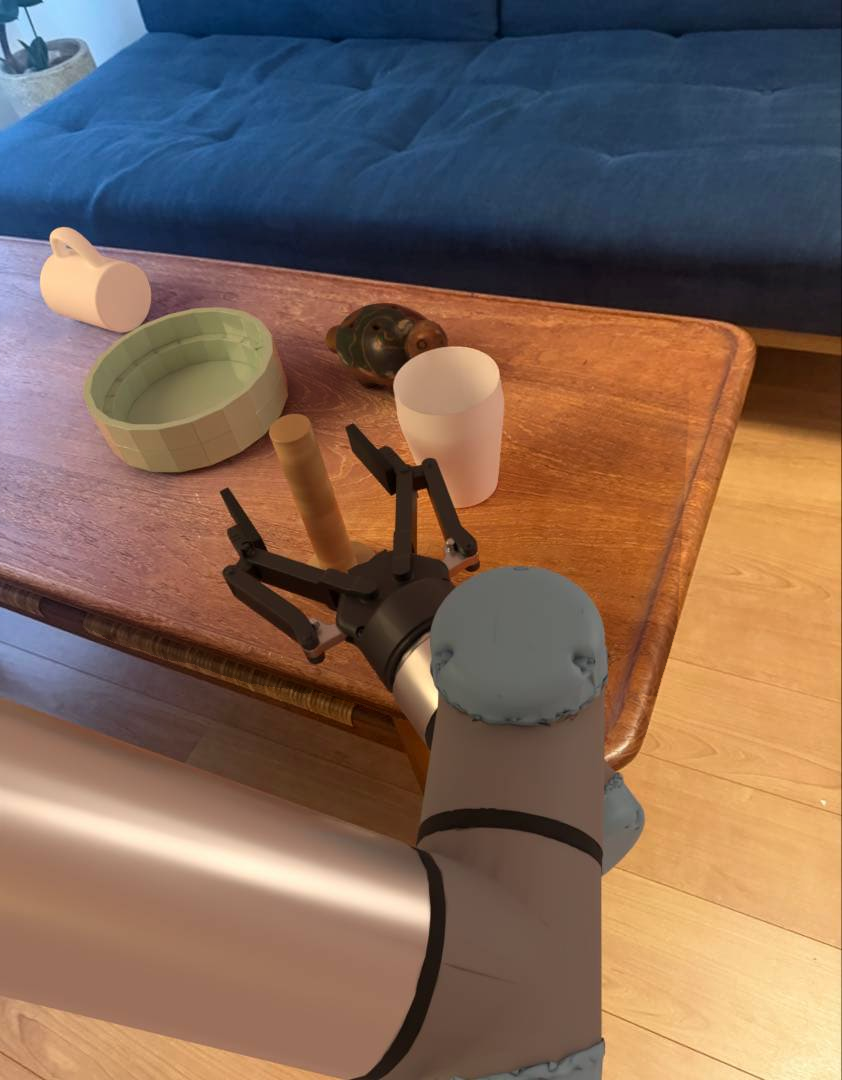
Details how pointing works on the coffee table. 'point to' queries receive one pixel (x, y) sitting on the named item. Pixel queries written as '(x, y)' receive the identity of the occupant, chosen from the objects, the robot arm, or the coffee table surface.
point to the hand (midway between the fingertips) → (292, 468)
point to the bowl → (187, 389)
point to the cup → (454, 418)
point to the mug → (93, 285)
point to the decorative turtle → (383, 341)
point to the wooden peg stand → (315, 495)
